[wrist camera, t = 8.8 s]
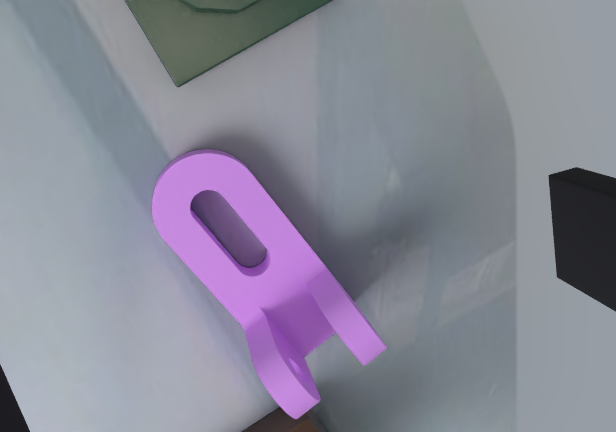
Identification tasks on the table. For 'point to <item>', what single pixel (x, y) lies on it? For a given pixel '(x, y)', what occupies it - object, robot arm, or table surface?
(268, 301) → the bracket
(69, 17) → the table surface
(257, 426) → the panel
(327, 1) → the switchbox
